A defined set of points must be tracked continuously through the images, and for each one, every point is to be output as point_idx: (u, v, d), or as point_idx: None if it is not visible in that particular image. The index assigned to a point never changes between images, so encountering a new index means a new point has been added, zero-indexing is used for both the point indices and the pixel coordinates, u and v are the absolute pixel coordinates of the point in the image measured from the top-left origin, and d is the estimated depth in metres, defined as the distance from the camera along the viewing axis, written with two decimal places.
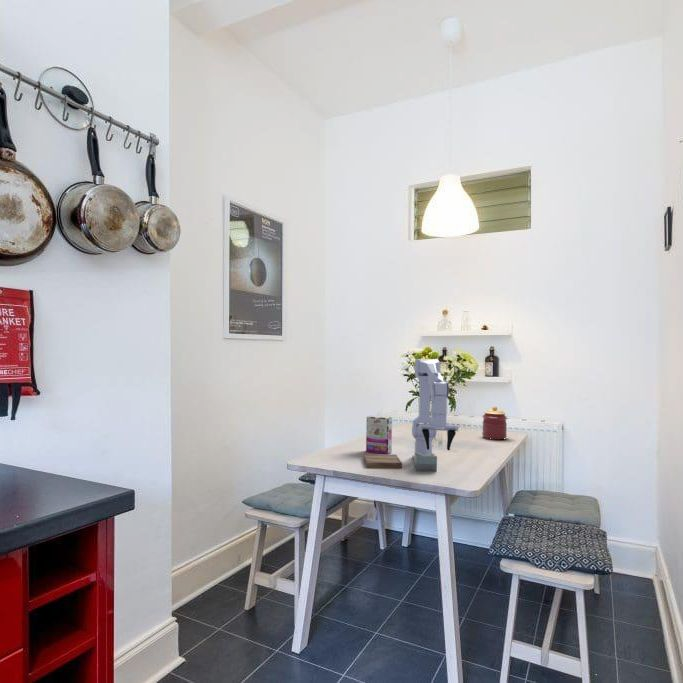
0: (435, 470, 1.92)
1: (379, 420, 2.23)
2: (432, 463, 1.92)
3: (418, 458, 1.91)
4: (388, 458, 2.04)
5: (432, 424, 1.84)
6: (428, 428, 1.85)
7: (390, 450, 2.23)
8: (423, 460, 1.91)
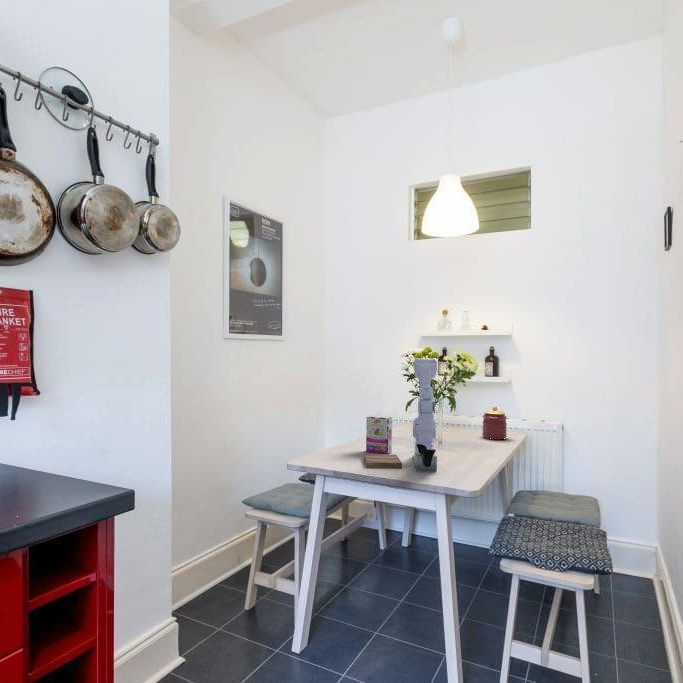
0: (435, 470, 1.92)
1: (379, 420, 2.23)
2: (432, 463, 1.92)
3: (418, 458, 1.91)
4: (388, 458, 2.04)
5: None
6: None
7: (390, 450, 2.23)
8: (423, 460, 1.91)
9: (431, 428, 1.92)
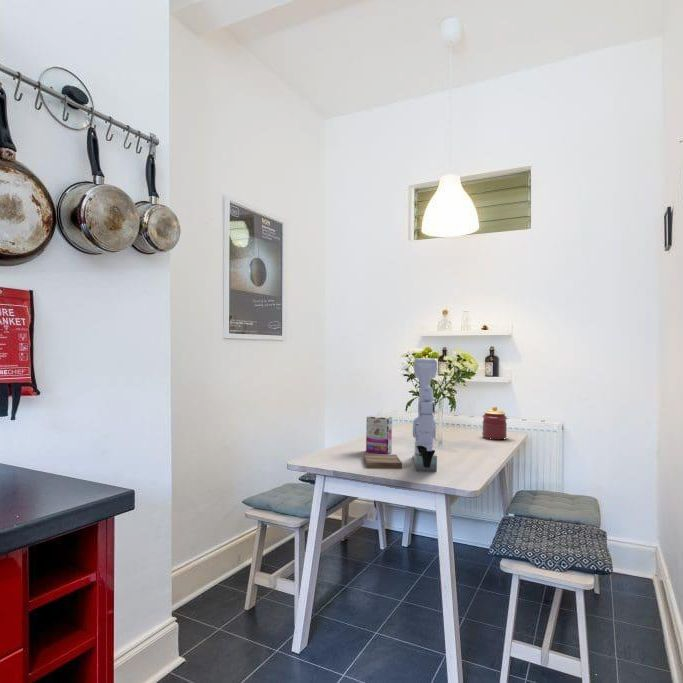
0: (435, 470, 1.91)
1: (379, 420, 2.23)
2: (432, 463, 1.92)
3: (418, 458, 1.91)
4: (388, 458, 2.04)
5: None
6: None
7: (390, 450, 2.23)
8: None
9: (431, 429, 1.92)
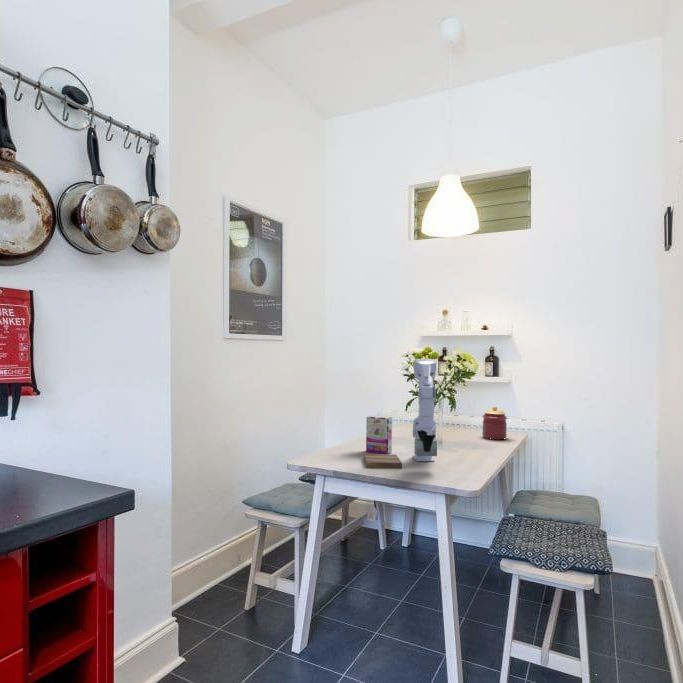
0: (435, 455, 1.92)
1: (379, 420, 2.23)
2: (432, 448, 1.92)
3: (418, 443, 1.92)
4: (388, 458, 2.04)
5: None
6: None
7: (390, 450, 2.23)
8: None
9: (431, 414, 1.92)
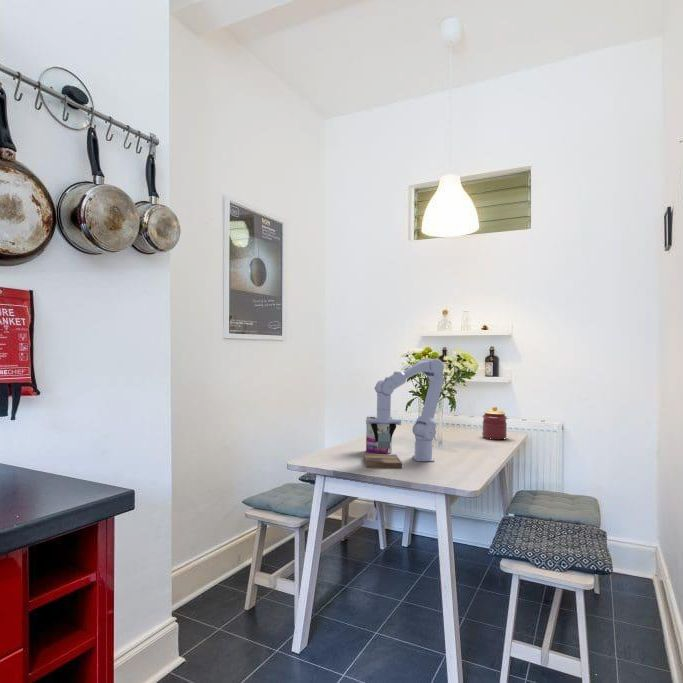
0: None
1: None
2: None
3: None
4: (388, 458, 2.04)
5: (377, 419, 2.02)
6: (374, 422, 2.03)
7: (390, 450, 2.23)
8: None
9: (382, 407, 2.01)
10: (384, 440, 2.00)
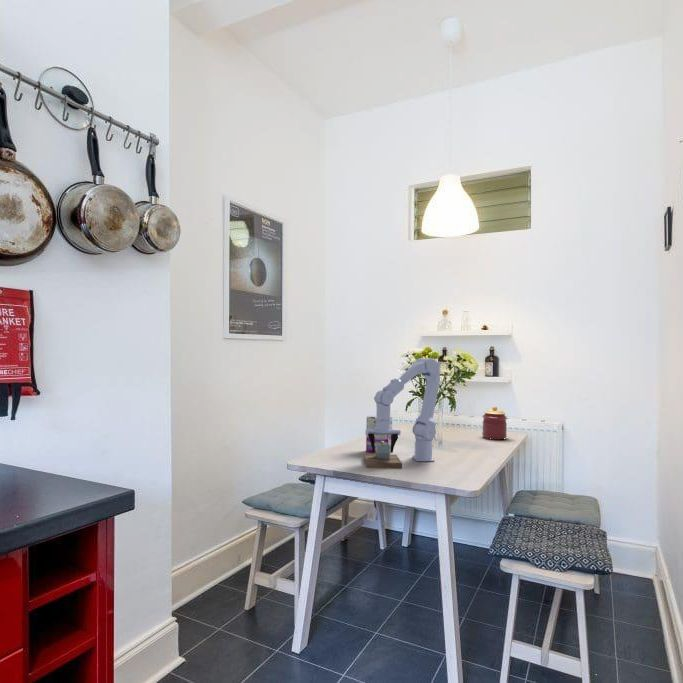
0: None
1: None
2: None
3: (389, 448, 2.00)
4: None
5: (377, 429, 2.02)
6: (373, 433, 2.03)
7: None
8: None
9: (381, 417, 2.01)
10: (383, 452, 2.00)
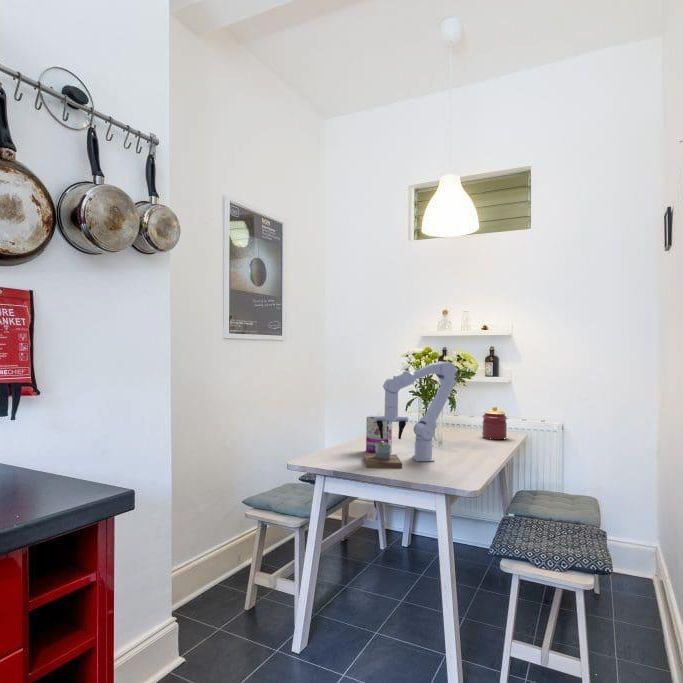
0: None
1: None
2: None
3: (389, 448, 2.00)
4: None
5: (385, 416, 2.07)
6: (382, 420, 2.08)
7: (390, 450, 2.23)
8: None
9: (388, 404, 2.06)
10: (383, 452, 2.00)
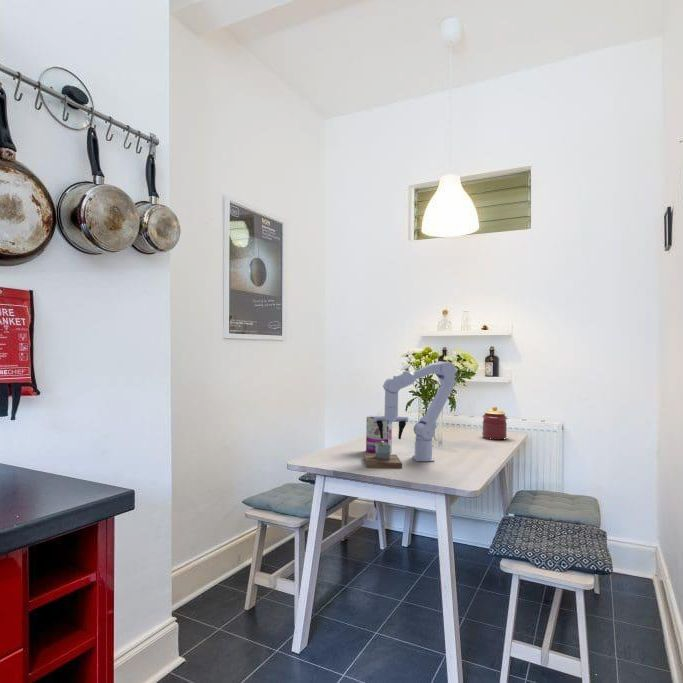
0: None
1: None
2: None
3: (389, 448, 2.00)
4: None
5: (385, 416, 2.07)
6: (382, 420, 2.08)
7: (390, 450, 2.23)
8: None
9: (388, 404, 2.06)
10: (383, 452, 2.00)
